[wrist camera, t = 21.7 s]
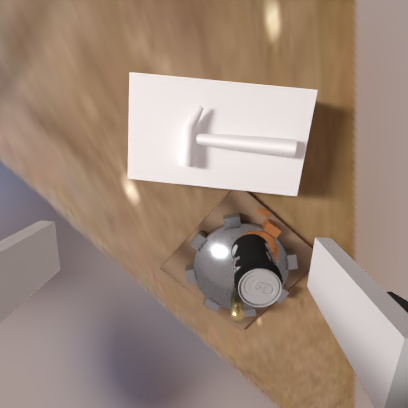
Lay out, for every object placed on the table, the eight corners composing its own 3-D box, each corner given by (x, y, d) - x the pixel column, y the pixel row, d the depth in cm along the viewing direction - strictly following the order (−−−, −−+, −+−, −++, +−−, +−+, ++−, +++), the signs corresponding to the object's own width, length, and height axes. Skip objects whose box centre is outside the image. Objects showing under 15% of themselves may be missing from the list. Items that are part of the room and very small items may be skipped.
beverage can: (238, 226, 46) (245, 259, 34) (274, 239, 46) (293, 275, 35) (225, 259, 48) (227, 301, 36) (260, 271, 48) (273, 316, 37)
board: (237, 182, 48) (238, 183, 46) (321, 255, 50) (323, 258, 49) (161, 266, 53) (160, 269, 52) (240, 327, 56) (241, 332, 54)
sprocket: (189, 208, 48) (185, 219, 42) (302, 218, 47) (314, 230, 42) (183, 305, 53) (179, 326, 48) (285, 314, 53) (293, 337, 47)
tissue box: (146, 82, 44) (123, 68, 34) (298, 97, 44) (324, 87, 33) (143, 170, 48) (122, 181, 38) (283, 184, 48) (301, 200, 37)
